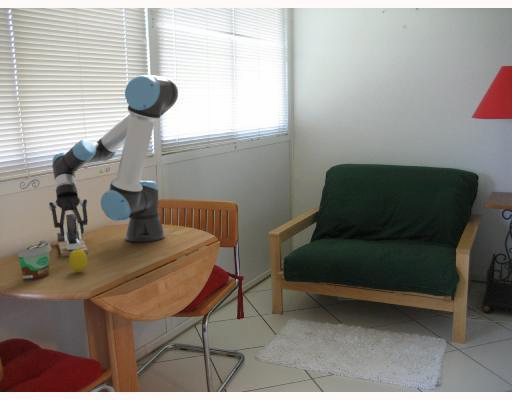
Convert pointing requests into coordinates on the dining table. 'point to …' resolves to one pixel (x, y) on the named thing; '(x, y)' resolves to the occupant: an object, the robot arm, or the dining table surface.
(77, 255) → the lemon
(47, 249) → the food container
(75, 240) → the press handle
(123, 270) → the dining table surface
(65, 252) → the press bench
